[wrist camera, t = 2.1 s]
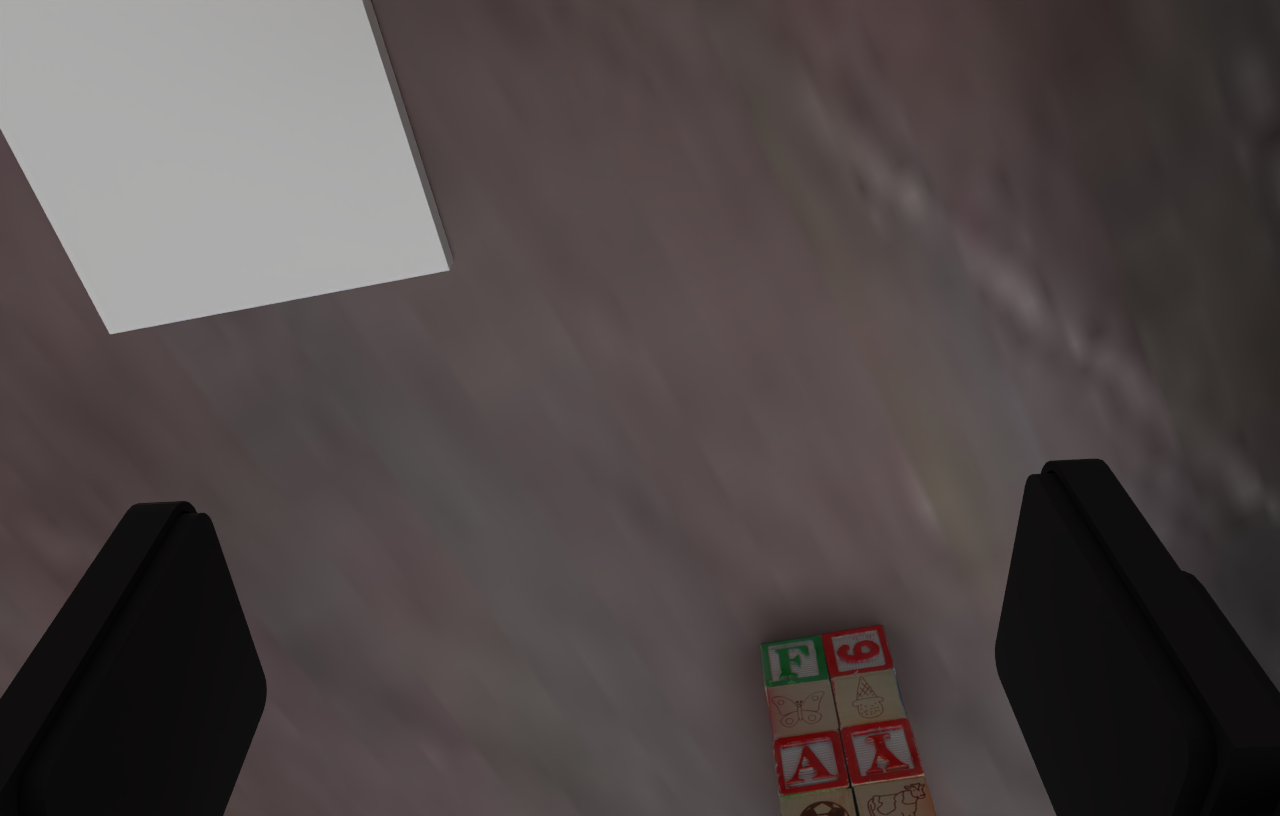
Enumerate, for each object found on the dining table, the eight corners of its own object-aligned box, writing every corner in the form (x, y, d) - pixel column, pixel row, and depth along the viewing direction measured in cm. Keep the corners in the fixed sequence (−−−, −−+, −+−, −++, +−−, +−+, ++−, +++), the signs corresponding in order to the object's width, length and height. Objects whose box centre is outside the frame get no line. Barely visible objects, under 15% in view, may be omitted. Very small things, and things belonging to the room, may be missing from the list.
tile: (326, -139, 33) (318, -137, 32) (453, 259, 40) (449, 270, 39) (-72, -45, 34) (-90, -41, 33) (120, 322, 41) (109, 334, 40)
